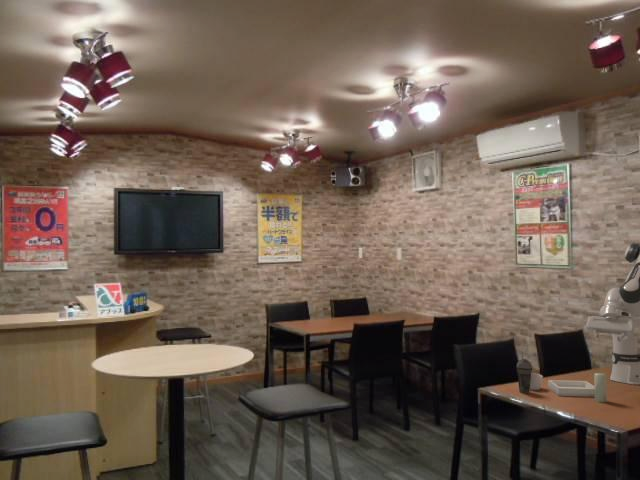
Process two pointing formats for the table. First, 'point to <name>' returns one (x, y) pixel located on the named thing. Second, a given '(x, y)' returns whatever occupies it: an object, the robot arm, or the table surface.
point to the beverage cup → (524, 374)
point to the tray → (571, 388)
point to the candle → (535, 381)
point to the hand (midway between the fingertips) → (607, 339)
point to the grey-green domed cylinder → (600, 387)
